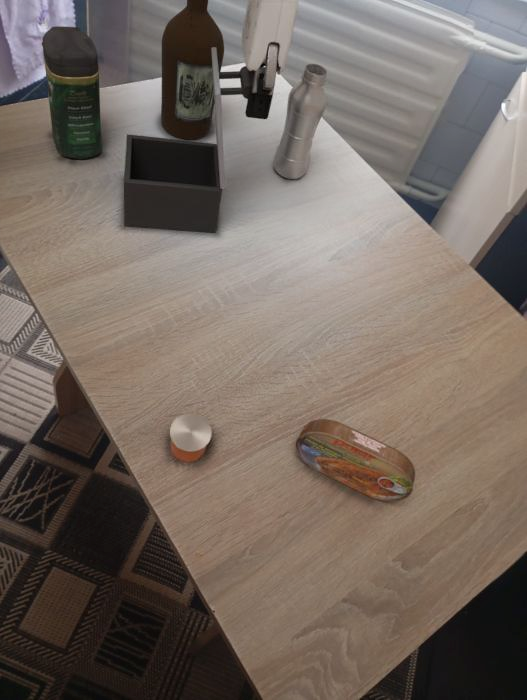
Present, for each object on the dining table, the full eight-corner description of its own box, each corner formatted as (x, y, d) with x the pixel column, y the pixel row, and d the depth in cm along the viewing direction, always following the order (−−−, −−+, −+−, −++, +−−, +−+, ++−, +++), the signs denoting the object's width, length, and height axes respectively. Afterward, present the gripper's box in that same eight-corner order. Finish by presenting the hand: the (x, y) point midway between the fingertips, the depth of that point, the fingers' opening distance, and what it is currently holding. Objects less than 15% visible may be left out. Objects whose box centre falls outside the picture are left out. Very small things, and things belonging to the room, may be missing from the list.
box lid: (215, 93, 73) (259, 92, 74) (211, 47, 80) (251, 46, 80) (220, 188, 86) (257, 187, 86) (216, 142, 92) (251, 140, 93)
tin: (287, 456, 73) (304, 426, 66) (296, 437, 74) (313, 406, 68) (395, 510, 71) (423, 485, 64) (401, 489, 73) (429, 462, 66)
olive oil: (152, 109, 109) (157, -35, 89) (204, 108, 113) (221, -30, 93) (165, 143, 104) (174, -1, 84) (219, 141, 108) (241, 2, 88)
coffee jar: (106, 159, 98) (102, 54, 84) (59, 163, 96) (46, 55, 81) (95, 126, 103) (89, 20, 88) (49, 128, 100) (36, 19, 85)
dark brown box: (124, 226, 90) (124, 182, 83) (127, 178, 97) (127, 134, 90) (215, 233, 93) (222, 191, 86) (211, 186, 100) (218, 143, 93)
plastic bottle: (299, 188, 104) (330, 86, 88) (265, 174, 105) (290, 70, 89) (309, 169, 108) (341, 68, 92) (277, 156, 108) (303, 53, 92)
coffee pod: (168, 464, 69) (170, 451, 66) (168, 427, 72) (169, 413, 69) (209, 464, 70) (212, 450, 67) (207, 427, 73) (210, 413, 70)
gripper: (244, -71, 71) (224, 69, 85) (257, -7, 61) (232, 138, 76) (302, -60, 72) (273, 75, 87) (323, 4, 63) (286, 144, 77)
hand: (254, 103), depth 81 cm, fingers closed on box lid, 5 cm apart
